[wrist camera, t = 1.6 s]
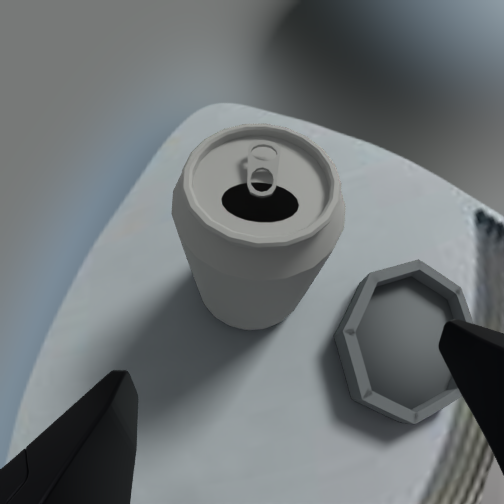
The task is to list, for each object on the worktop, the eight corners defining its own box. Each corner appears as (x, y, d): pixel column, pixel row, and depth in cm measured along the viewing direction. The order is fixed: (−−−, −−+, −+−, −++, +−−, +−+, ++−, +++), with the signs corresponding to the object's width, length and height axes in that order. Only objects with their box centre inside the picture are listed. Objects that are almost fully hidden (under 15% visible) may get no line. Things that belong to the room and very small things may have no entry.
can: (192, 327, 20) (141, 251, 9) (206, 232, 23) (186, 107, 13) (300, 335, 20) (369, 270, 9) (301, 240, 23) (345, 121, 13)
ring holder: (430, 435, 17) (445, 437, 15) (311, 377, 19) (318, 376, 17) (472, 312, 21) (486, 305, 19) (374, 249, 23) (384, 238, 22)
